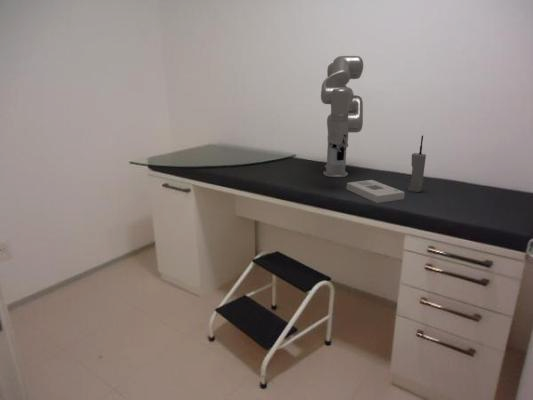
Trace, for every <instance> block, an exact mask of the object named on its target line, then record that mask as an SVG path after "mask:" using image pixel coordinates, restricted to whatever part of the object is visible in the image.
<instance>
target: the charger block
mask: <svg viewBox="0 0 533 400" xmlns="http://www.w3.org/2000/svg"><path fill="white" fill-rule="evenodd" d="M337 152H338V147H336V148H330V164H333V165H344V160H340V161H338V160H337ZM344 155H345V151H344Z"/></svg>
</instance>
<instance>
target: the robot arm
mask: <svg viewBox="0 0 533 400" xmlns="http://www.w3.org/2000/svg"><path fill="white" fill-rule="evenodd" d="M363 70H364V61H363V58H362V57H361V56H359V55H341V56H337V57H336V58H334V60H333V62H331V63H330V64H328V66H327V71H326V72H327V75H326V76H327V77H326V78H325V79H324V80H323V82H322V84H321V91H320V100H321V103H323V104H324V105H330V114H329V115H328V116H327V119H326V126H327V127H326V128H327V151H326V152H327V153H326V154H327V155H326V164H325V165H324V169H325V170H324V171H323V173H322V174H323V175H324V176H325V177H330V178H345V177H347V176H348V175H349V173H348V172H347V171H346V161H347V160H346V159H347V149H348V147H349V144H348V143H349V142H348V141H349V133H353V134H355V133H360V132H361V130H362V129H363V126H364V121H363V120H364V118H363V117H364V107H363V106H364V104H363V103H364V102H363V99H362V97H361V96H359V95H355V94H354V91H353V89H352V88H350V87H349V86H347V84H348V83H349V82H350V80H358V79H360V78H361V77H362V74H363ZM336 147H338V152H337V160H338V161H340V160H344V165H333V164H330V148H336ZM344 151H345V155H344Z"/></svg>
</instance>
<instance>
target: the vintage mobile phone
mask: <svg viewBox="0 0 533 400" xmlns="http://www.w3.org/2000/svg"><path fill="white" fill-rule="evenodd" d="M420 139H421V140H420V146H419V152H414V153H412V154H411V167H412V168H411V179H410V184H409V186H408V188H407V191H409V192H414V193H419V192H421V191H422V189H423V182H424V174H425V166H426V158H427V154H425V153H423V152H422V151H423V141H424V135H421V138H420Z"/></svg>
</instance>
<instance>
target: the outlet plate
mask: <svg viewBox="0 0 533 400" xmlns="http://www.w3.org/2000/svg"><path fill="white" fill-rule="evenodd" d="M346 190H347V191H350V192H352V193H354V194H356V195H359V196H361V197H363V198H365V199H367V200H369V201H371V202H374V203H376V204H379V203H386V202H393V201H399V200H405V194H406V193H405V191H402V190H400V189H397V188H395V187H392V186H389V185H387V184H385V183H381V182H379V181H376V180H373V179H369V180H367V179H366V180H359V181H352V182H347V183H346Z"/></svg>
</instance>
